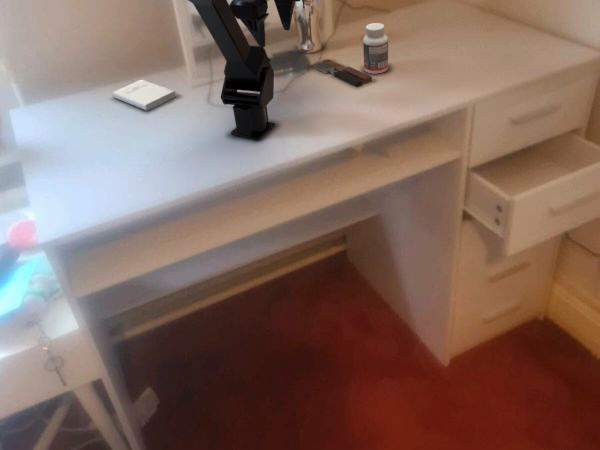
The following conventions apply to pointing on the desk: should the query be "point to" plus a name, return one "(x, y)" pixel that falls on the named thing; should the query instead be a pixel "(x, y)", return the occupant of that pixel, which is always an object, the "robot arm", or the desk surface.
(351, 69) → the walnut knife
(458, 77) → the desk surface
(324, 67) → the black-handled fork
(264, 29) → the robot arm
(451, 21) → the desk surface
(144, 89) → the hard drive
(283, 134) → the desk surface
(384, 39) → the pill bottle
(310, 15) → the beer glass
